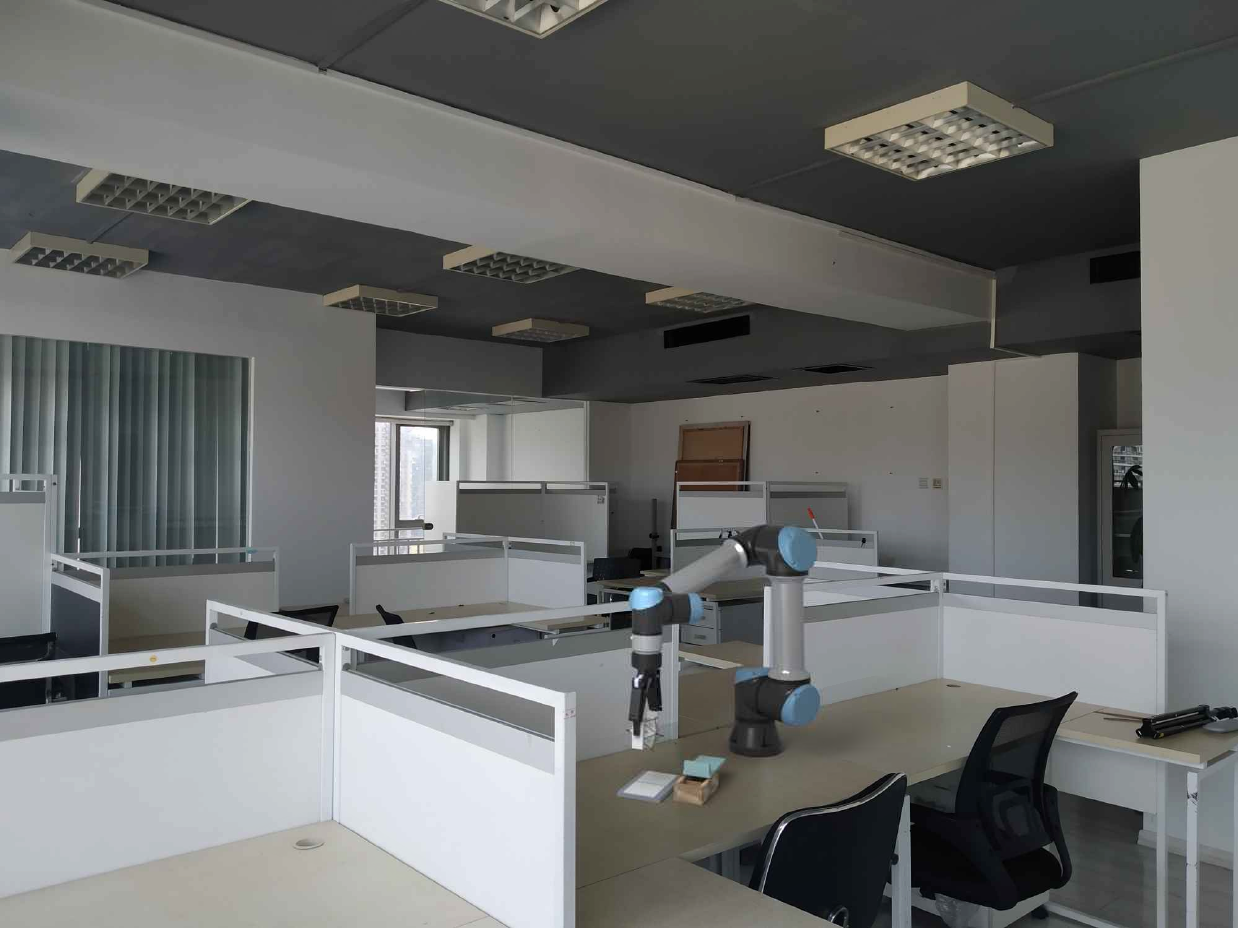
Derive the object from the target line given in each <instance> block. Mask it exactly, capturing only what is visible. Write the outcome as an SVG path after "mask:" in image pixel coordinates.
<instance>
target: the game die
mask: <svg viewBox="0 0 1238 928" xmlns="http://www.w3.org/2000/svg"><path fill="white" fill-rule="evenodd" d="M656 719H657V717H655V719H649V718H647V717H643V720H642V721H644V749H648V750H651V752H652V753H654V748H655V745H657V742H658V741H659V740H660V739H661V738H664V737H665V735H664V734H661V731H660V728H659V724H658V725H657V723H656ZM625 731H626V732H628V734H629V735H630V737H631V740H632V726H631V727H630V728H629V729H625ZM634 750H635V749H634V748H632V751H634Z"/></svg>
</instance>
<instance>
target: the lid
mask: <svg viewBox="0 0 1238 928" xmlns="http://www.w3.org/2000/svg"><path fill="white" fill-rule="evenodd" d="M726 762H727V758H723V757H715V756H708V755H702V754H701V755H698V757H696V758H695V759H694V760H690V759H688V760H687V759H685V760H684V761H683V770H682V775H691V776H698V777H705V778H711V777H712V776H713V775H714V774H715V773H716V772H717V771H719V770H720V769H721V767H723V766H724V765H725V764H726Z"/></svg>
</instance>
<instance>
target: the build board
mask: <svg viewBox="0 0 1238 928" xmlns="http://www.w3.org/2000/svg"><path fill="white" fill-rule="evenodd" d="M682 776H683V775H678V774H672V773H665V772H659V771H651V770H645V769H644V770H642V771H641V772H640V773H639V774H637V775H636V776H635V777H634V778H633V779H631V780H630V781H629V782H627V784H625V785H624V786H623V787H622V788H620V789H619V790H618V791H617V792H616V797H618V798H625V799H626V798H627V799H632V800H638V801H644V802H650V803H656V804H660V803H661V802H662V801H663V800H665V799H666V798H667V796H669V795H670V794H671V793H672V792H674V783H675V782H677V781H678V780H679V779H680V778H681V777H682Z"/></svg>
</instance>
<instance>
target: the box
mask: <svg viewBox="0 0 1238 928" xmlns="http://www.w3.org/2000/svg"><path fill="white" fill-rule="evenodd" d="M681 776H682V777H681V778H680V779H679V780H678V781H677V782H675V783H674V790H673V801H674V802H680V803H686V804H693V805H698V806H703V804H704V803H705V802H706V801H707V800H708V799H709V798H710V797H711V795H713V794H714V792H715V791H716V790H717V789H718V788H719V770H718V771H717V772H716V773H715V774H714V775H713V776H712V777H711V778H705V777H698V776H691V775H684V774H682V775H681Z"/></svg>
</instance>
